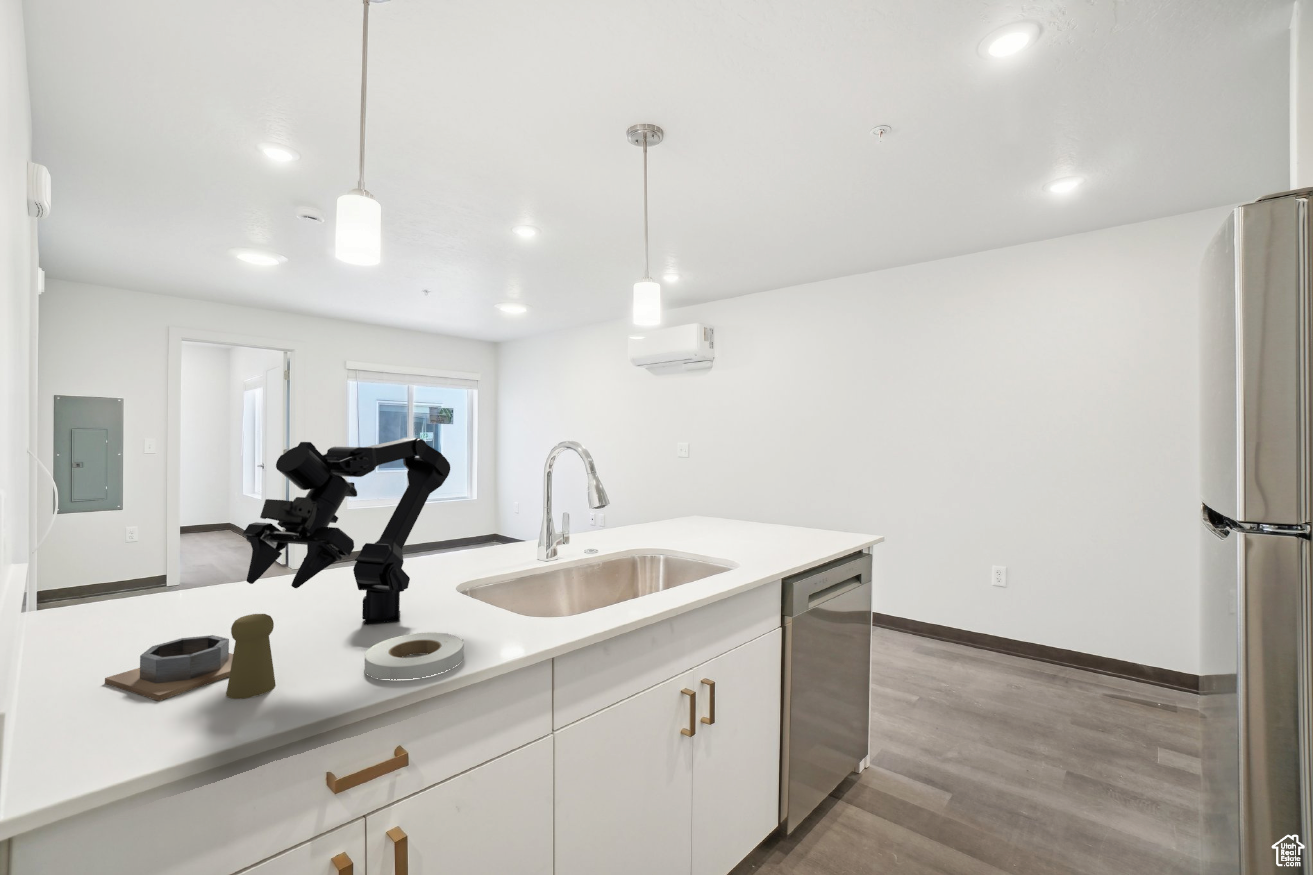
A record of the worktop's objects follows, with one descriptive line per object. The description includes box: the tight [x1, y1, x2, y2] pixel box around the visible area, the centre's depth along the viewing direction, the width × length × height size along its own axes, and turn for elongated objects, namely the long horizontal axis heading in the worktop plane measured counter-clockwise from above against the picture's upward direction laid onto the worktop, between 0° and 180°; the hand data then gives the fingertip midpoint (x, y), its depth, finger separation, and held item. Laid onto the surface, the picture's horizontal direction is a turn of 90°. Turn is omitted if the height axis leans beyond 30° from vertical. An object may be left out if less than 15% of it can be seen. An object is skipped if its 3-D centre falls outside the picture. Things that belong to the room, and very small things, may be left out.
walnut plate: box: [104, 652, 233, 702], centre depth 90 cm, size 14×14×1 cm
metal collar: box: [139, 634, 230, 684], centre depth 90 cm, size 10×10×4 cm
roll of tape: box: [364, 632, 465, 680], centre depth 96 cm, size 16×15×3 cm
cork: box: [226, 613, 277, 700], centre depth 85 cm, size 6×6×11 cm
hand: (271, 585), depth 94 cm, fingers open, 9 cm apart
